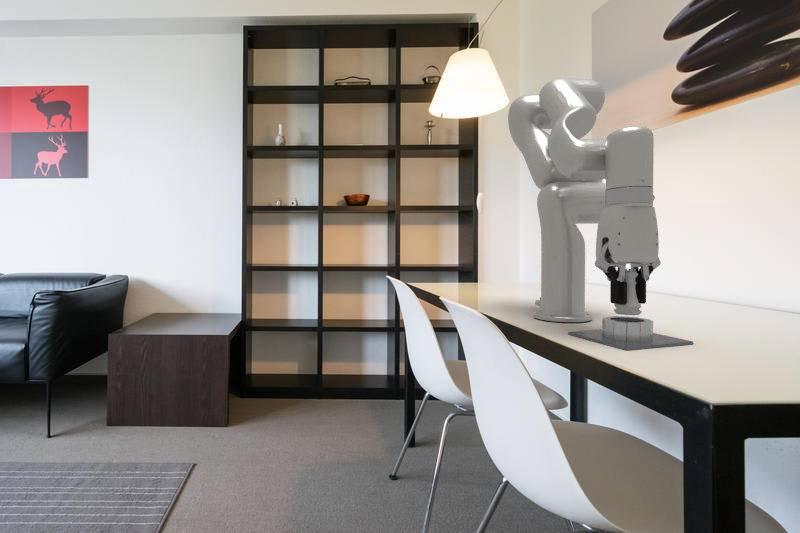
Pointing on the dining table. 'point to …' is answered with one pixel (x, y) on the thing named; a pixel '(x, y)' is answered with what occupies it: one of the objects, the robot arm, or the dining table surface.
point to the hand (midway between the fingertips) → (627, 302)
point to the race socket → (629, 334)
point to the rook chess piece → (629, 296)
